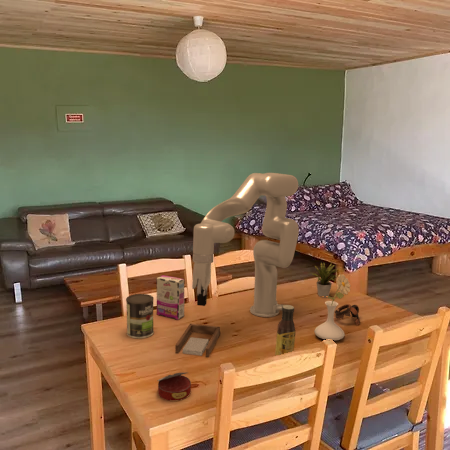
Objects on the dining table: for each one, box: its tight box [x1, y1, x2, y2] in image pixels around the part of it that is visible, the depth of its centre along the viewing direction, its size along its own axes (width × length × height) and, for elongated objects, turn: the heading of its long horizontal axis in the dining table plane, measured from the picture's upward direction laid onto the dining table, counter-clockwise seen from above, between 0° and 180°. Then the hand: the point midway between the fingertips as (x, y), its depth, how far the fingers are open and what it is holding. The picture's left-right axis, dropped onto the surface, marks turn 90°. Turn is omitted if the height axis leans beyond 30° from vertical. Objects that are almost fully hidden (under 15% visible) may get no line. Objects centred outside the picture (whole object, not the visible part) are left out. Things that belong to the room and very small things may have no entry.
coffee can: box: [125, 293, 155, 340], centre depth 183 cm, size 10×10×14 cm
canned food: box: [157, 372, 192, 401], centre depth 144 cm, size 11×10×10 cm
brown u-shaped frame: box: [174, 323, 221, 358], centre depth 177 cm, size 12×19×3 cm, turn 168°
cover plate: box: [182, 336, 210, 357], centre depth 173 cm, size 7×10×2 cm
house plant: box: [312, 262, 340, 298], centre depth 226 cm, size 14×14×16 cm
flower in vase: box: [314, 273, 351, 341], centre depth 182 cm, size 13×11×25 cm
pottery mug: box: [334, 303, 361, 326], centre depth 200 cm, size 12×10×8 cm
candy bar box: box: [155, 274, 185, 321], centre depth 200 cm, size 11×5×16 cm, turn 62°
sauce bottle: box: [274, 304, 296, 356], centre depth 163 cm, size 6×6×20 cm
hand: (201, 304), depth 179 cm, fingers closed
